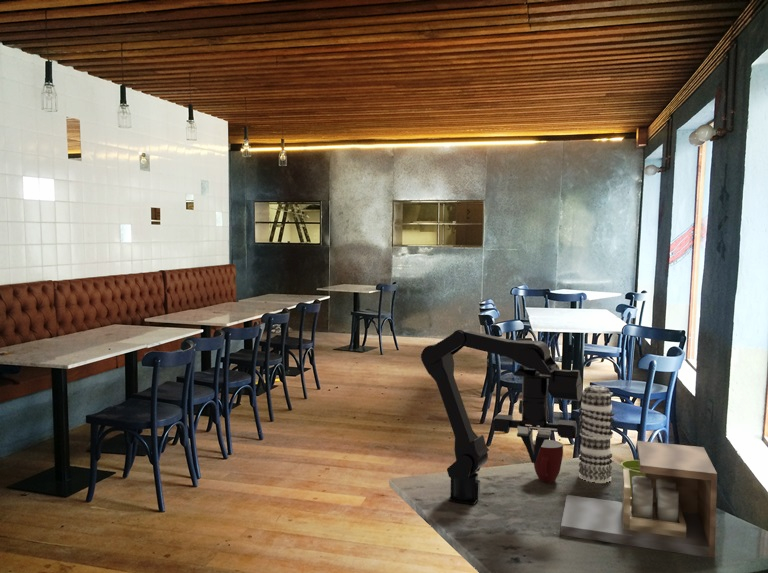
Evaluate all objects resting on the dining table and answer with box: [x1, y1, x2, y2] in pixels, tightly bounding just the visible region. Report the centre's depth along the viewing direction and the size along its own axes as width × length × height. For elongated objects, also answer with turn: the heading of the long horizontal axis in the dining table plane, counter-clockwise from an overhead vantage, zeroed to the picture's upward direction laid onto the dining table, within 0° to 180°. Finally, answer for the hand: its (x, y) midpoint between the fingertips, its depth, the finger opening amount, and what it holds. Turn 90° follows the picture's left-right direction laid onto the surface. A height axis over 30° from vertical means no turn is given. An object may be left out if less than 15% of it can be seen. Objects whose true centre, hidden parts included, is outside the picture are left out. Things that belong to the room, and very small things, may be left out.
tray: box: [621, 468, 686, 538], centre depth 135 cm, size 12×13×9 cm
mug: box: [533, 439, 564, 484], centre depth 165 cm, size 10×8×10 cm
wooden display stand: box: [560, 440, 718, 559], centre depth 137 cm, size 30×19×17 cm, turn 70°
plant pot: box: [620, 459, 645, 497], centre depth 153 cm, size 9×9×9 cm
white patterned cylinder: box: [578, 384, 615, 484], centre depth 169 cm, size 9×9×25 cm
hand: (533, 462), depth 144 cm, fingers closed
